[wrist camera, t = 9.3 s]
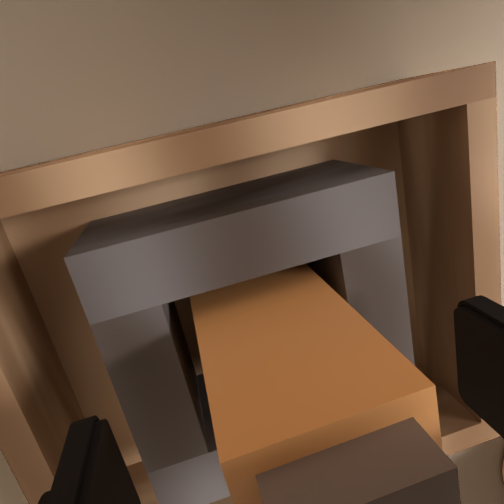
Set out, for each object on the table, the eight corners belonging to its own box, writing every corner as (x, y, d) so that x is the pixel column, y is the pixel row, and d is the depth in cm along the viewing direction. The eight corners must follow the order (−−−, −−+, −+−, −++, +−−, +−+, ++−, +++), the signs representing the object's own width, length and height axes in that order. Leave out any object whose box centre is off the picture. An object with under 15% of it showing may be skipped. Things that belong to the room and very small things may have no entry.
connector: (282, 241, 17) (483, 430, 6) (301, 327, 18) (495, 601, 8) (184, 270, 16) (231, 528, 6) (211, 356, 18) (290, 692, 7)
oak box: (403, 78, 17) (508, 58, 12) (429, 367, 22) (514, 443, 16) (-37, 181, 15) (-141, 210, 10) (95, 479, 19) (72, 607, 14)
